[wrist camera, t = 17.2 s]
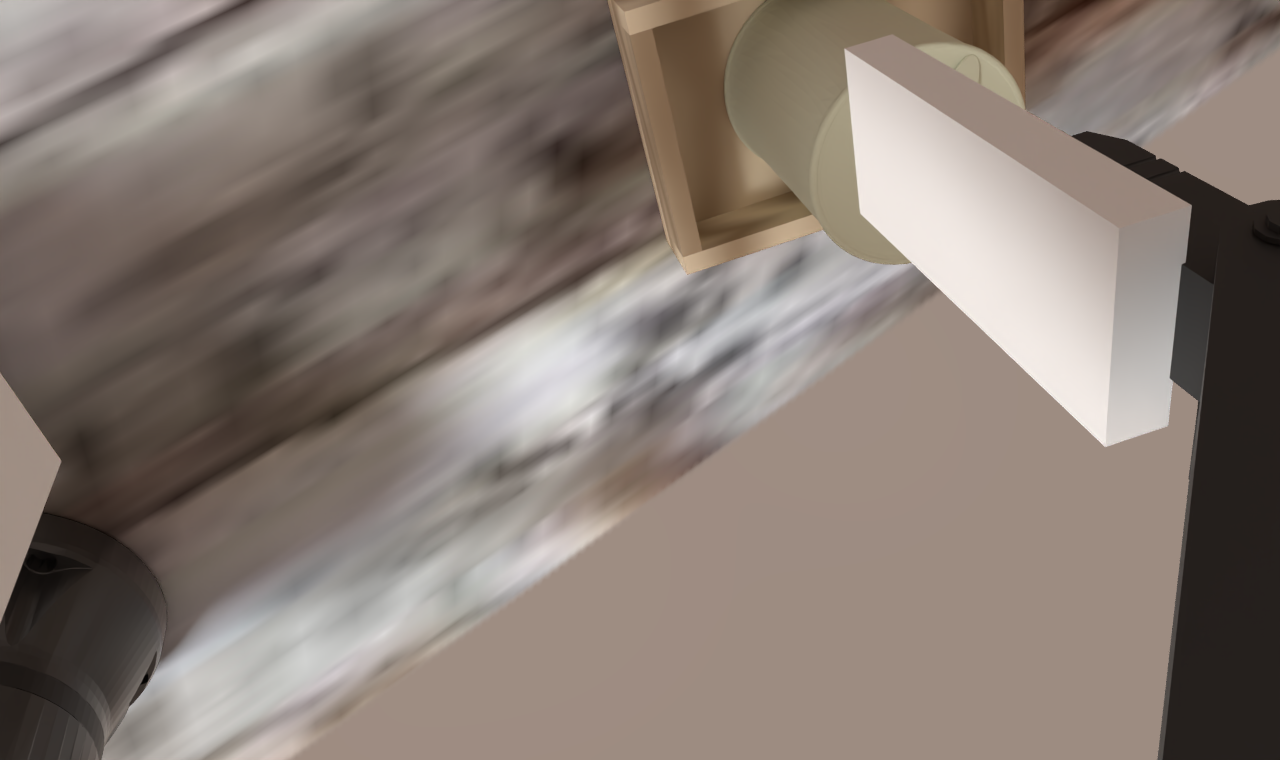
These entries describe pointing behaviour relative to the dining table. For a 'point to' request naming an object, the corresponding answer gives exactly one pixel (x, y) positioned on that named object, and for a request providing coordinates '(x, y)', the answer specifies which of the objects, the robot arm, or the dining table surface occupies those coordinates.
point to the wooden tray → (702, 132)
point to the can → (828, 100)
